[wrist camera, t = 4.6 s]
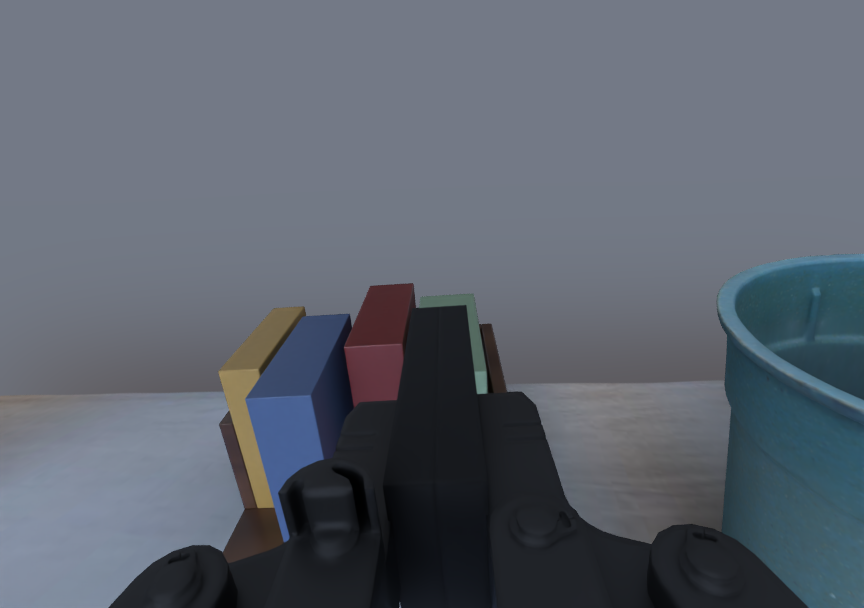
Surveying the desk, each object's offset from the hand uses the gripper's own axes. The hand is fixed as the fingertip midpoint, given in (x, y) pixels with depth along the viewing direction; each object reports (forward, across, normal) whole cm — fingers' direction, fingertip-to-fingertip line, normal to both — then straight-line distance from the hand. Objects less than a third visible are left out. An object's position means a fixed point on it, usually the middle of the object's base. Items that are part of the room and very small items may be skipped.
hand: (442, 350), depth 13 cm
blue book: (+10, -8, -15) cm, 19 cm away
